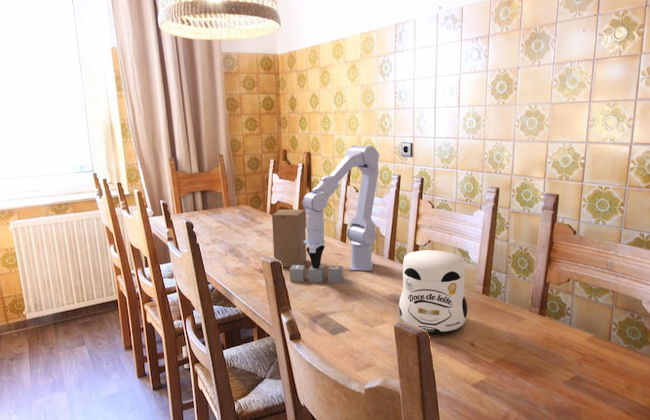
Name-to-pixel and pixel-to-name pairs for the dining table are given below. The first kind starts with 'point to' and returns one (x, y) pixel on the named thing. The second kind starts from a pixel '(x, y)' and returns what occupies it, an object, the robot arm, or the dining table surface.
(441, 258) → the milk container
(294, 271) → the block marked 1
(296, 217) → the wooden block
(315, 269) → the plain block
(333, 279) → the block marked 7
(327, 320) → the dining table surface
